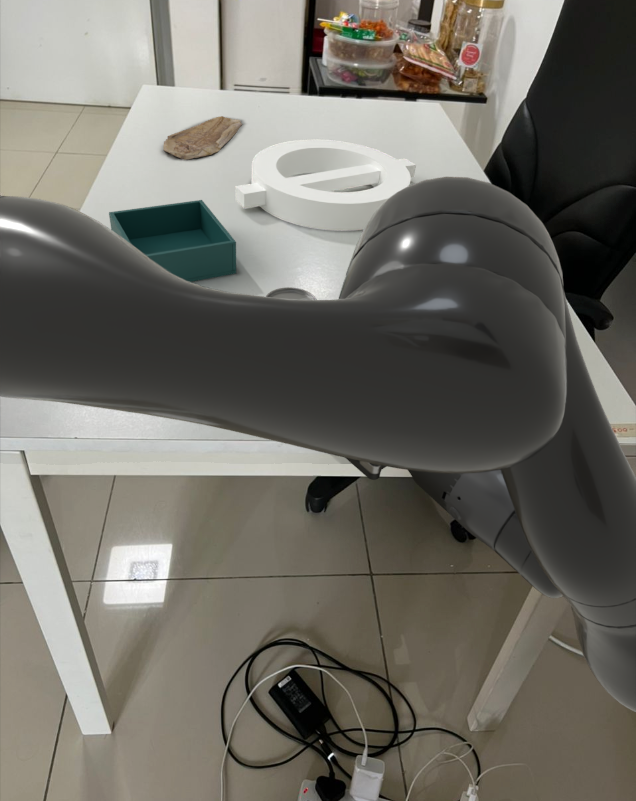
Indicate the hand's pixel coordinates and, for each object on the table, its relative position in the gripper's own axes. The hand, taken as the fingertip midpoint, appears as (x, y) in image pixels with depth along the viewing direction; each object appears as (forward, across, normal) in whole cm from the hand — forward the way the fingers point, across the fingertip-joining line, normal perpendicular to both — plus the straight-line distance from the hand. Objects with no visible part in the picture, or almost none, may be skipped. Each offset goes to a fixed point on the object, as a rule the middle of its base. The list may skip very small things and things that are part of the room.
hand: (357, 376), depth 62 cm
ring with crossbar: (+51, -37, +10) cm, 64 cm away
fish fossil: (+85, -31, +10) cm, 91 cm away
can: (+11, 0, +10) cm, 15 cm away
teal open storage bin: (+44, -3, +10) cm, 45 cm away
